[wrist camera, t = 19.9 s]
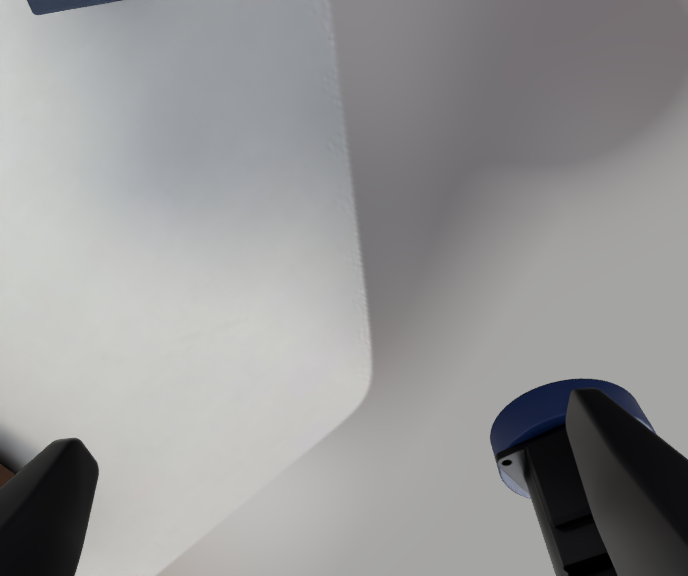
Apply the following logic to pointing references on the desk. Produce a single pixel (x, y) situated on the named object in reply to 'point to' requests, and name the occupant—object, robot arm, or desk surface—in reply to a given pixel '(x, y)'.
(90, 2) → the eraser
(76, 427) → the desk surface
